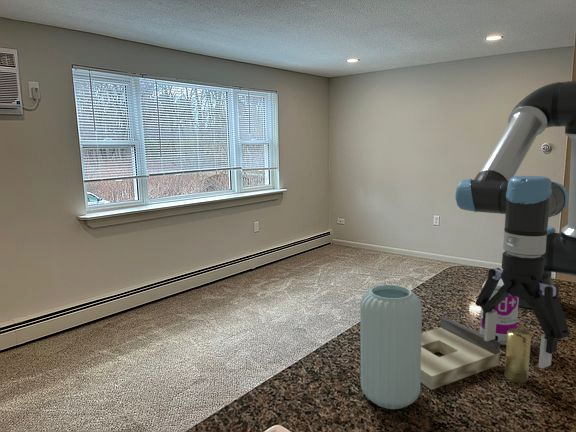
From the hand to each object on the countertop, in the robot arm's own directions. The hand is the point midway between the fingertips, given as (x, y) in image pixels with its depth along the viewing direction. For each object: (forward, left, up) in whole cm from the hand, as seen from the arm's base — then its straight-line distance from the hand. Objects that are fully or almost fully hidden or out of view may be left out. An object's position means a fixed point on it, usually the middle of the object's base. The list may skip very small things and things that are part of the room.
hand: (515, 352), depth 89 cm
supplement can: (-12, -14, -6) cm, 19 cm away
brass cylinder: (0, 0, -6) cm, 6 cm away
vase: (+28, -7, -6) cm, 29 cm away
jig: (+9, -13, -6) cm, 16 cm away
